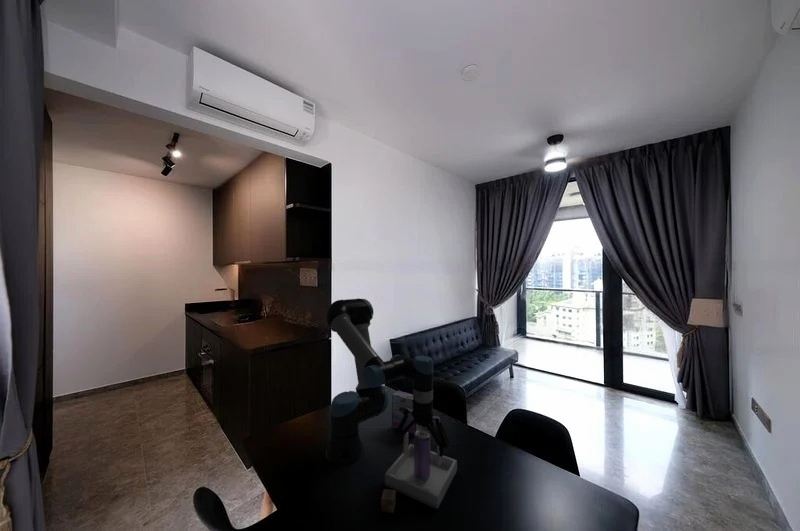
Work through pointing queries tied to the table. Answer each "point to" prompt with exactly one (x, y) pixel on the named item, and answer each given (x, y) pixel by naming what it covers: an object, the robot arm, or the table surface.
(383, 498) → the oak block
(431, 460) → the bin
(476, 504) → the table surface
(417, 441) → the beverage can
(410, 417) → the candy box
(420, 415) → the robot arm
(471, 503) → the table surface
